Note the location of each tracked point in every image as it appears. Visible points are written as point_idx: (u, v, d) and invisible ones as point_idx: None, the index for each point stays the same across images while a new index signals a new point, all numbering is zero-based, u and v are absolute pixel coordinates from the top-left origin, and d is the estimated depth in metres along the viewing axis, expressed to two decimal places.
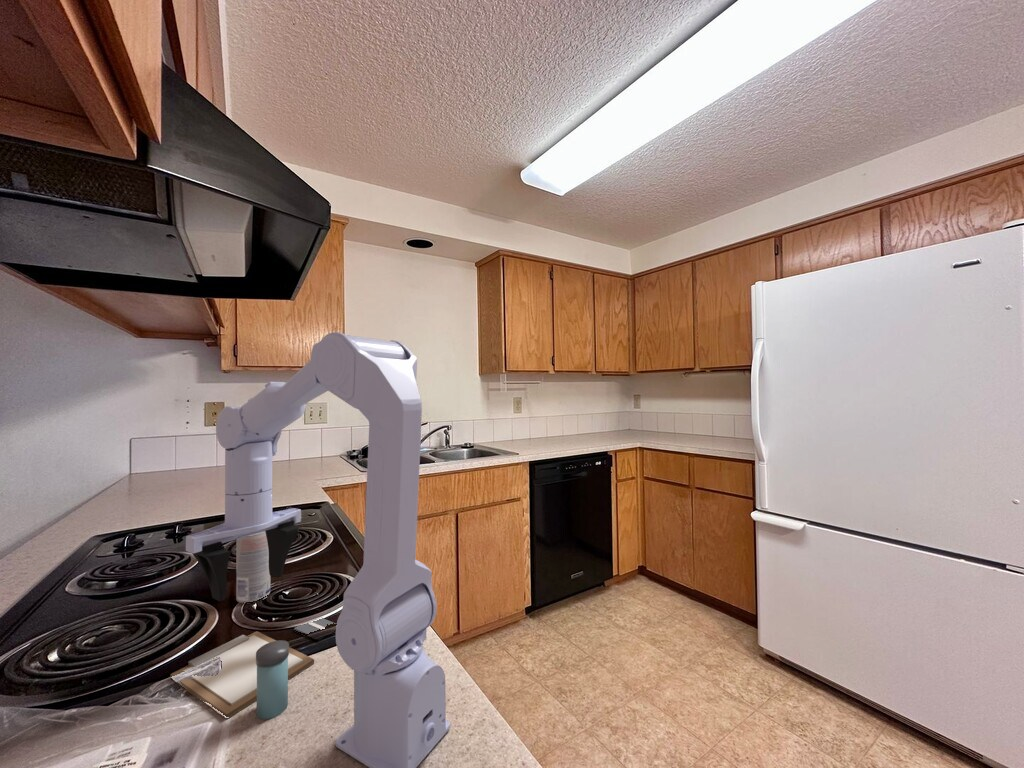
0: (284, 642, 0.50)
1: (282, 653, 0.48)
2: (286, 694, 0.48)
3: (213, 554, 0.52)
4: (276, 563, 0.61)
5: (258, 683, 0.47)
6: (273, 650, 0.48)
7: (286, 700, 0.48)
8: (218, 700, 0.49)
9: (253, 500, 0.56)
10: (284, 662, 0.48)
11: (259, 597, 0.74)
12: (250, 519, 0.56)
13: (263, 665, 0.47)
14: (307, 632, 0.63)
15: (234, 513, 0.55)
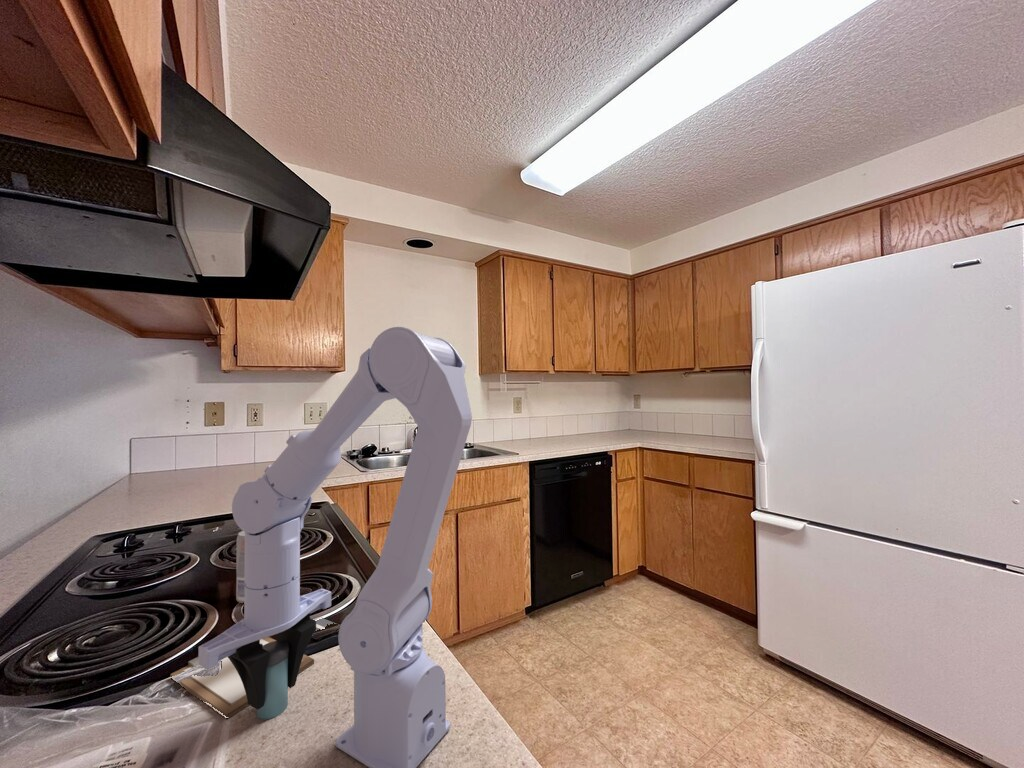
0: (284, 642, 0.50)
1: (282, 653, 0.48)
2: (286, 694, 0.48)
3: (251, 658, 0.44)
4: (289, 669, 0.50)
5: None
6: (273, 650, 0.48)
7: (286, 700, 0.48)
8: (218, 700, 0.49)
9: (279, 594, 0.47)
10: (284, 662, 0.48)
11: None
12: (275, 617, 0.46)
13: None
14: None
15: (256, 611, 0.46)
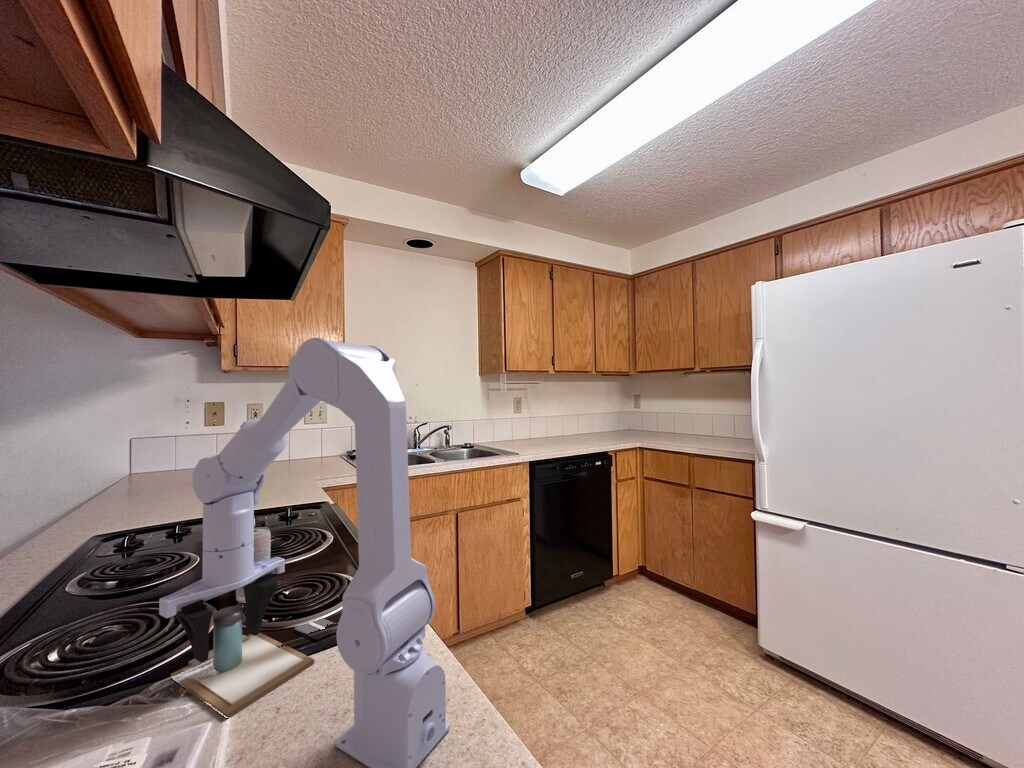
0: (239, 607, 0.56)
1: (236, 615, 0.55)
2: (240, 652, 0.55)
3: (194, 615, 0.50)
4: (253, 620, 0.57)
5: (214, 641, 0.54)
6: (228, 613, 0.55)
7: (240, 657, 0.55)
8: (218, 700, 0.49)
9: (232, 556, 0.53)
10: (237, 623, 0.55)
11: None
12: (229, 577, 0.53)
13: (218, 625, 0.54)
14: (307, 632, 0.63)
15: (211, 570, 0.53)
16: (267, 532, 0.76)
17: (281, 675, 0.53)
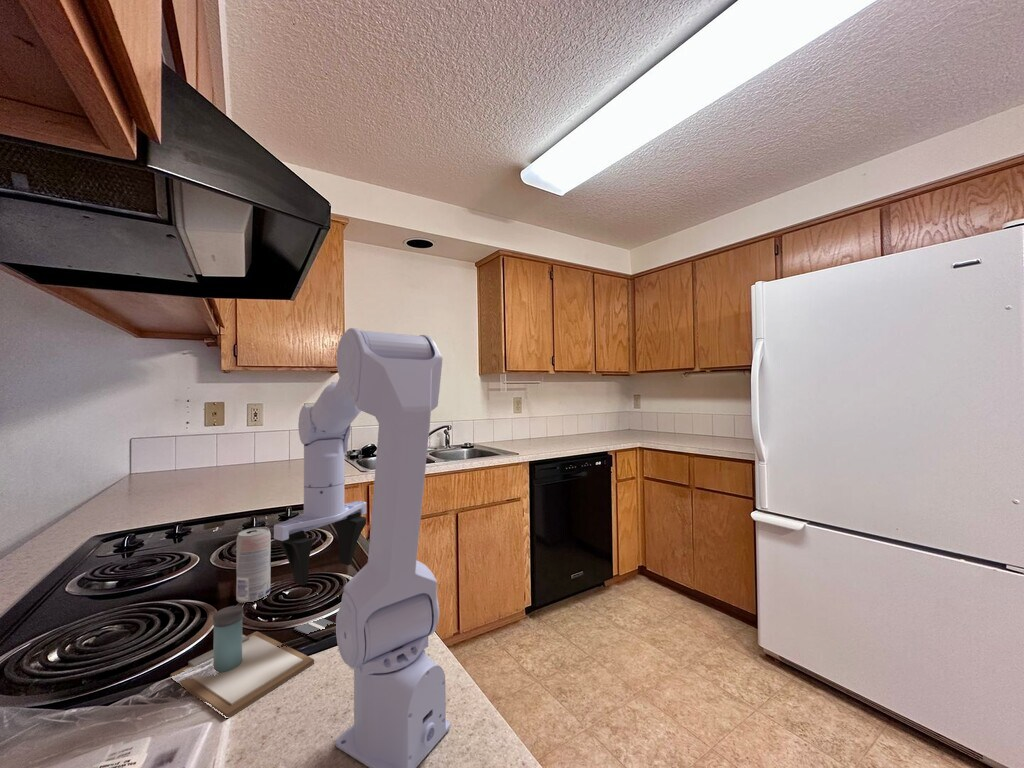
0: (239, 607, 0.56)
1: (236, 615, 0.55)
2: (240, 652, 0.55)
3: (299, 541, 0.57)
4: (346, 551, 0.65)
5: (214, 641, 0.54)
6: (228, 613, 0.55)
7: (240, 657, 0.55)
8: (218, 700, 0.49)
9: (330, 492, 0.61)
10: (237, 623, 0.55)
11: (259, 597, 0.74)
12: (328, 510, 0.60)
13: (218, 625, 0.54)
14: (307, 632, 0.63)
15: (314, 504, 0.60)
16: (267, 532, 0.76)
17: (281, 675, 0.53)
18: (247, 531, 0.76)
